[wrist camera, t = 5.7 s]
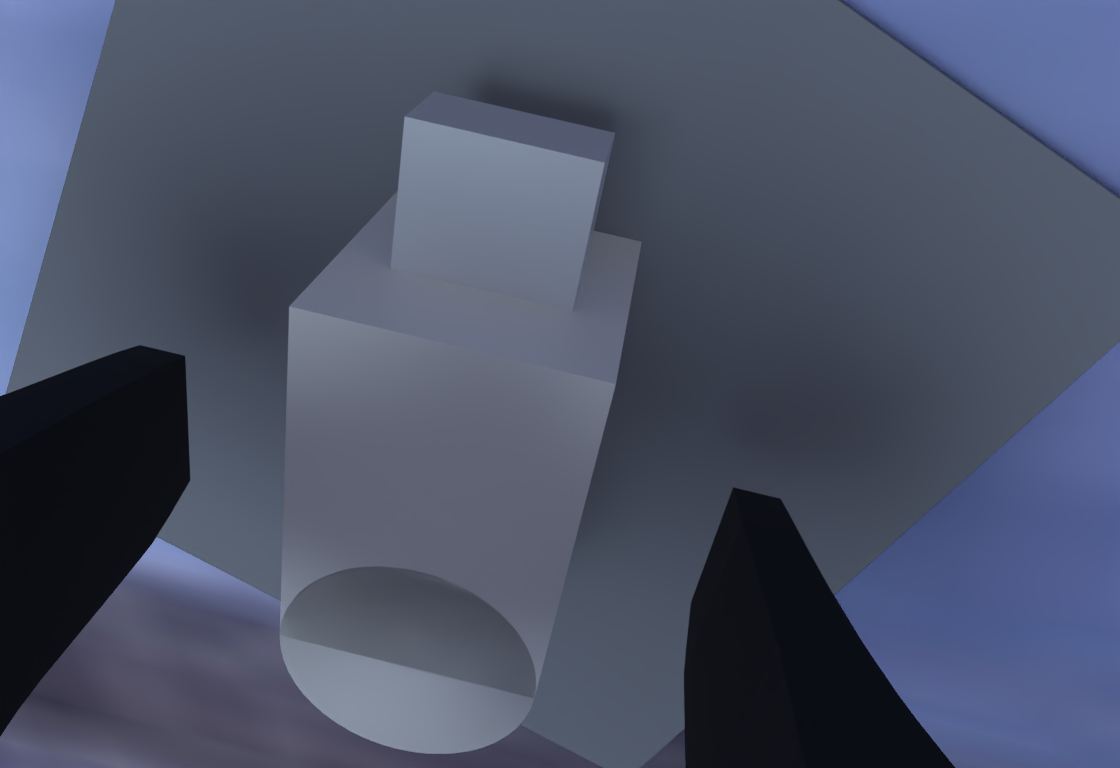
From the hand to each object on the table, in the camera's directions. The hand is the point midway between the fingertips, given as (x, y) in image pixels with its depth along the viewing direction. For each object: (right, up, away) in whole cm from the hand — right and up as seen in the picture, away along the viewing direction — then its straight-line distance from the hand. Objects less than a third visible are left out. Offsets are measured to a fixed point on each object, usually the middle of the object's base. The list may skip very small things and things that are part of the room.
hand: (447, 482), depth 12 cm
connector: (0, +2, +2) cm, 3 cm away
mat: (0, +2, +3) cm, 3 cm away
